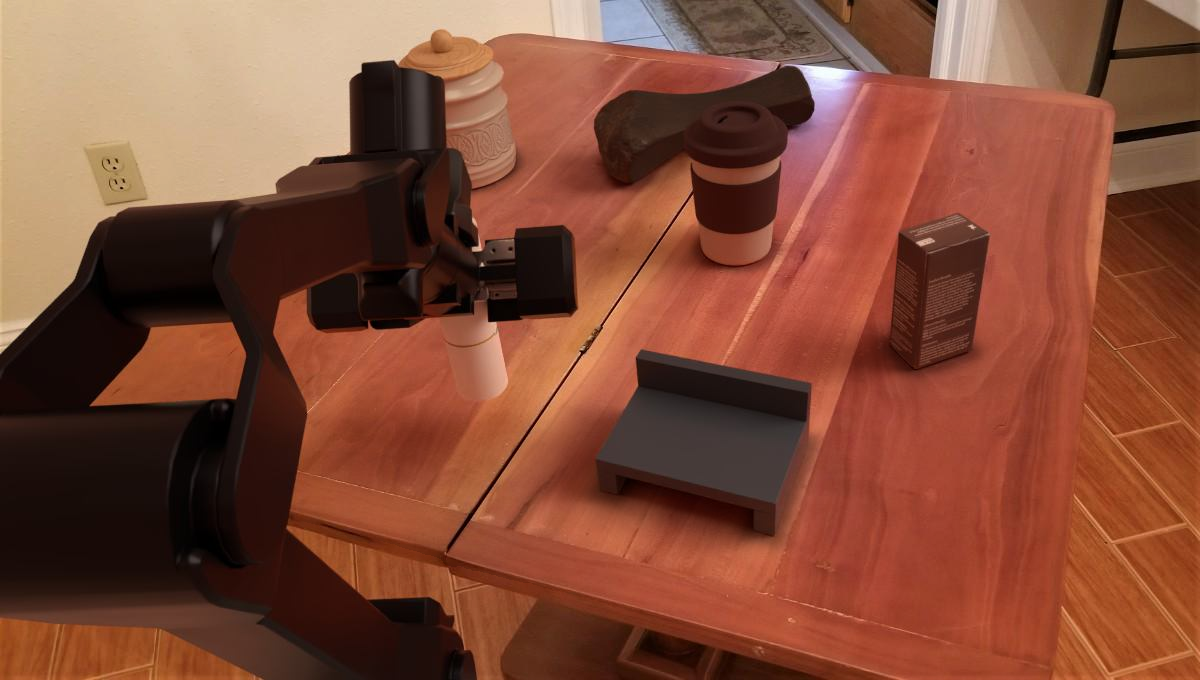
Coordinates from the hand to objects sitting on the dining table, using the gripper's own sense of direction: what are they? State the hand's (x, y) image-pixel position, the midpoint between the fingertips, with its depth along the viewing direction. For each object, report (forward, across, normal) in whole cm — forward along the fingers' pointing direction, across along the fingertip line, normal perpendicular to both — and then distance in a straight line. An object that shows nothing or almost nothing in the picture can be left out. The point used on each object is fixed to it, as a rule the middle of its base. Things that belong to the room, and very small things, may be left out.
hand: (468, 300), depth 74 cm
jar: (+42, +8, -25) cm, 49 cm away
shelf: (+3, -18, +14) cm, 23 cm away
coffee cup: (+25, -23, -8) cm, 35 cm away
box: (+13, -38, +5) cm, 41 cm away
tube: (+4, 0, +6) cm, 8 cm away
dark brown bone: (+42, -21, -25) cm, 53 cm away
